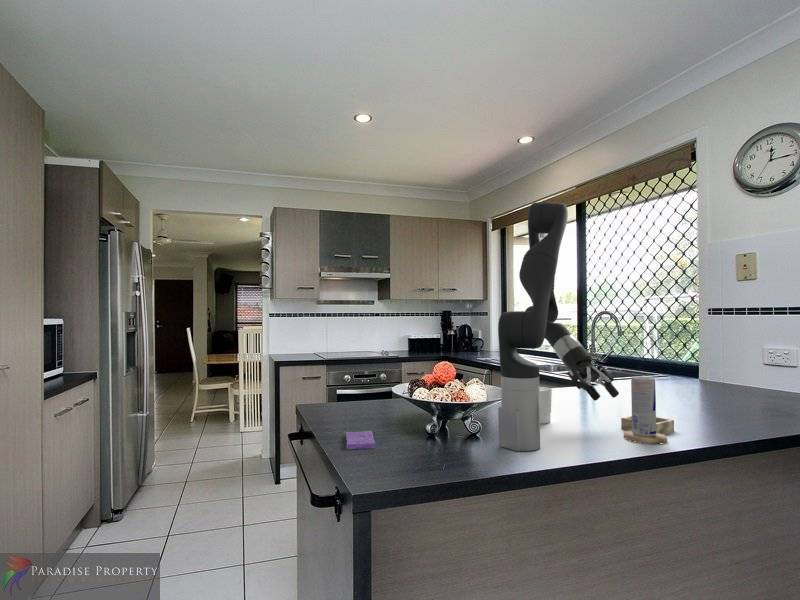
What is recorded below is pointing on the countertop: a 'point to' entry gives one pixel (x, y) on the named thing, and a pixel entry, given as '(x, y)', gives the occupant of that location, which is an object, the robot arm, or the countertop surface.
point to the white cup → (545, 404)
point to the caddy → (661, 424)
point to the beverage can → (643, 406)
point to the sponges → (360, 440)
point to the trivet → (645, 438)
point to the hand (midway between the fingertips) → (607, 397)
